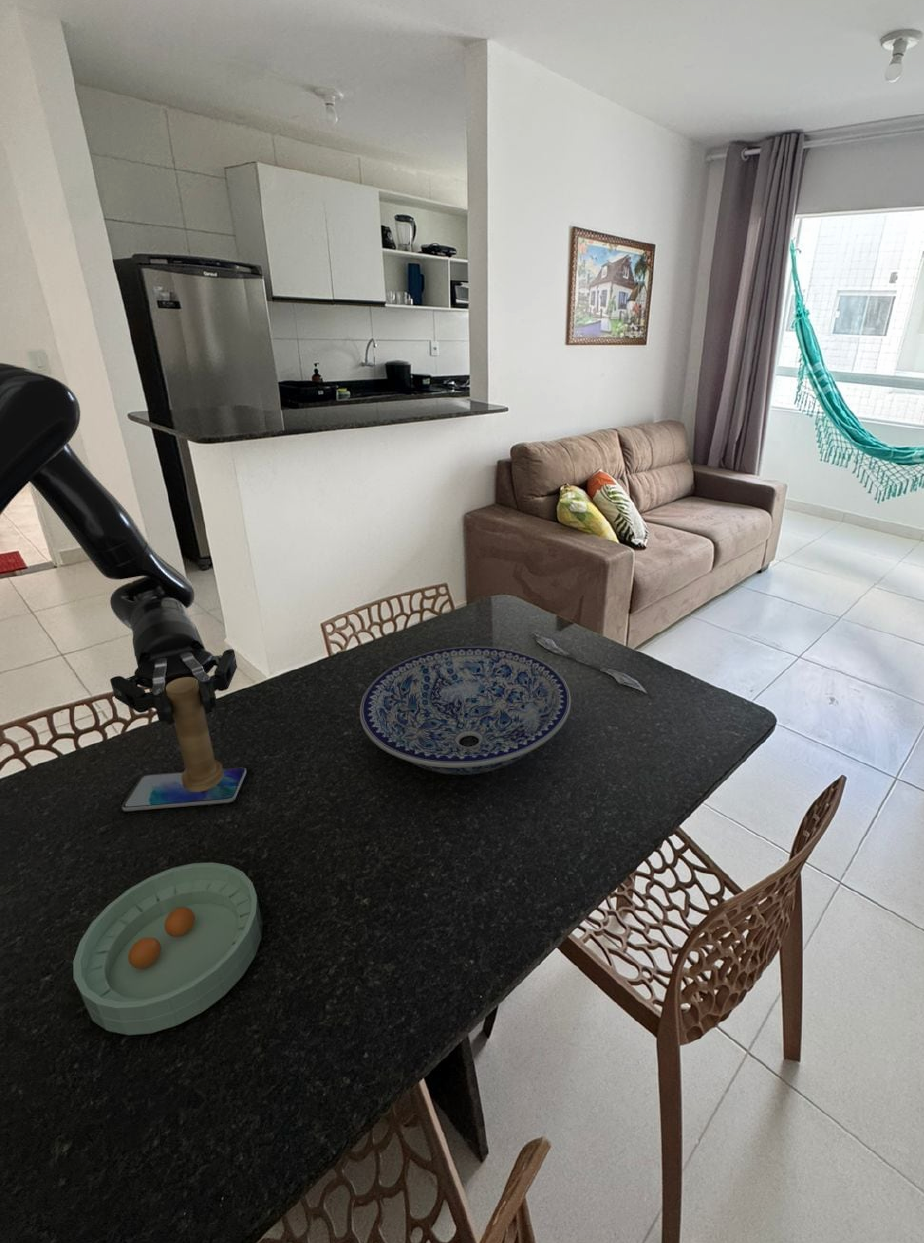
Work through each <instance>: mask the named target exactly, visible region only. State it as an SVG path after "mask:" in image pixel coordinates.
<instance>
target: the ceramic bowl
mask: <svg viewBox="0 0 924 1243" xmlns="http://www.w3.org/2000/svg"><path fill="white" fill-rule="evenodd" d="M571 703H572V700H571V692H570V689H569V686H568V685H567V682H566V681H565V679H564V677H562V675H561V674H560V673H559V672H558V671H556V669H554V668H553V667H552V666H550V665H549V664H547V663H546V662H544V661H542V660H540V659H538V658H536V657H534V656H531V655H530V654H526V653H523V652H519V651H516V650H511V649H505V648H501V647H491V646H460V647H459V646H458V647H450V648H444V649H437V650H434V651H433V650H432V651H430V652H426V653H422V654H419V655H416V656H413V657H411V658H408V659H406V660H403V661H401V662H400V663H397V664H395V665H394V666H392V667H390V668H389V669H386V670H385V671H384V672H383V673H382V674H380V675H379V676H378V677H377V678H375V679H374V681H373V682H371V684H370V685H369V686H368V688H367V689H366V690H365V692H364V694H363V696H362V698H361V702H360V706H359V720H360V723H361V726H362V728H363V730H364V733H365V734H366V736H367V737H368V738H369V739H370V740H371V741H372V742H373V743H374V744H375V745H376V746H377V747H378V748H379V749H381V750H383V751H384V752H386V753H388V754H390V755H392V756H393V757H396V758H398V759H401V760H404V761H406V762H409V763H410V764H412V765H414V766H416V767H419V768H421V769H424V770H427V771H430V772H433V773H437V774H446V775H453V776H454V775H455V776H456V775H457V776H459V775H460V776H462V775H463V776H466V775H467V776H469V775H476V774H482V773H488V772H491V771H496V770H498V769H501V768H504V767H506V766H509V765H510V764H513V763H514V762H517V761H518V760H520V759H521V758H523V757H525V756H526V755H527V754H529V753H530V752H532V751H533V750H536V749H538V748H539V747H540V746H543V745H544V744H545V743H547V742H548V741H549V740H550V739H551V738H553V737H554V736H555V735H556V734H557V733H558V732H559V731H560V730H561V728H562V727H563V726H564V724H565V722H567V719H568V717H569V714H570V709H571V705H572V704H571ZM465 737H475V738H477V739H478V742H477V744H475V745H472V746H464V745H462V744H460V741H461V740H462V739H463V738H465Z"/></svg>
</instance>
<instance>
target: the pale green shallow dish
mask: <svg viewBox="0 0 924 1243" xmlns="http://www.w3.org/2000/svg"><path fill="white" fill-rule="evenodd" d="M180 907H187V908H189V909H191V910H192V911H193V913H194V915H195V921H194V924H193V926H192V928H191V929H190V930H189V931H188V932H187V933H185V934H184V935H181V936H171V935H169V934H168V933H167V932H166V930H165V920H166V918H167V916H168V915H169V914H170V913H171V912H172V911H173V910H175V909H177V908H180ZM262 932H263V919H262V914H261V909H260V903H259V899H258V894H257V891H256V889H255V886H254V882H253V881H251V879H250V878H249V876H247V875H246V873H245V872H244V871H242V870H240V869H238V868H236V867H234V866H232V865H229V864H223V863H219V862H193V863H188V864H184V865H180V866H175V867H171V868H169V869H166V870H164V871H161V872H159V873H157V874H154V875H151V876H150V877H147V878H146V879H143V880H142V881H141V882H139V883H137V884H135V885H133V886H132V887H130V888H128V889H127V890H125V891H124V892H123V893H122V894H121V895H119V896H118V897H117V898H115V899H114V900H112V902H110V903H109V904H108V905H107V906H106V907H105V908H104V909H103V910H102V911H101V912H100V913H99V914H98V915H97V916H96V918H95V919H94V920H93V921H92V922H91V923H90V925H89V926H88V927H87V929H86V931H85V933H84V934H83V936H82V937H81V939H80V941H79V942H78V946H77V949H76V951H75V955H74V958H73V961H72V965H73V966H72V970H73V981H74V983H75V986H76V988H77V990H78V993H79V996H80V997H81V1000H82V1002H83V1003H82V1004H83V1005H84V1007H85V1010H86V1011H87V1013H88V1015H89V1017H90V1019H91V1020H92V1022H93V1023H94V1024H96V1025H98V1026H99V1027H101V1028H102V1029H103V1030H105V1031H108V1032H111V1033H117V1034H120V1035H126V1036H134V1035H135V1036H136V1035H148V1034H153V1033H157V1032H160V1031H163V1030H166V1029H171V1028H173V1027H176V1026H179V1025H181V1024H183V1023H185V1022H186V1021H188V1020H190V1019H192V1018H194V1017H196V1016H198V1015H200V1014H202V1013H204V1012H205V1011H206V1010H207V1009H209V1008H210V1007H212V1006H213V1005H214V1004H216V1003H217V1002H218V1001H219V1000H221V999H222V998H223V997H225V996H226V994H228V993H229V991H230V990H231V989H232V988H233V987H234V986H235V985H236V984H237V983H238V982H239V981H240V979H241V978H243V976H244V974H245V973H246V972H247V970H248V969H249V967H250V965H251V964H252V962H253V960H254V959H255V957H256V956H257V952H258V949H259V947H260V944H261V941H262V936H263V935H262ZM146 937H153V938H155V939H157V940H158V941H159V943H160V945H161V952H160V955H159V957H158V958H157V960H156V961H155V962H154V963H153V964H152V965H150V966H148V967H146V968H142V969H138V968H134V967H133V966H131V965H130V963H129V960H128V954H129V951H130V949H131V947H132V946H133V945H134V944H135V943H136V942H137V941H139V940H140V939H142V938H146Z"/></svg>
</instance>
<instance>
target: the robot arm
mask: <svg viewBox="0 0 924 1243" xmlns="http://www.w3.org/2000/svg"><path fill="white" fill-rule="evenodd" d="M80 422H81V407H80V404H79V401H78V398H77V396H76V395H75V393H74V392H73V391H72V389H71V388H69V387H68V385H66V384H65V383H64V382H61V381H60V380H59V379H56V378H54V377H52V376H51V375H50V376H49V375H46V374H44V373H41V372H38V371H35V370H32V369H29V368H26V367H23V366H19V365H14V364H11V363H4V362H0V516H1V515H2V514H3V513H4V511H5V510H6V508H8V506H9V505H10V503H11V502H12V501H13V500H14V499H15V498H16V497H17V495H18V494H19V493H20V492H21V491H22V490H23V489H24V488H25V487H26V486H27V485H28V484H29V483H31V485H32V486H33V487H34V488H35V489H36V490H37V492H38V493H39V494H40V495H41V497H43V499H44V500H45V502H46V503H47V504H48V505H49V507H50V508H51V509H52V510H53V512H54V513H55V514H56V515H57V517H58V519H60V521H61V522H62V523H63V525H64V526H65V528H67V530H68V531H69V532H70V535H72V537H73V538H74V539H75V541H76V542H77V543H78V545H79V546H80V548H81V549H82V551H84V553H85V554H86V555H87V557H88V558H89V560H90V561H91V562H92V564H93V565H94V566H95V568H96V569H97V570H98V571H99V572H100V573H101V574H102V576H104V577H105V578H107V579H108V580H109V579H110V580H116V581H118V580H119V581H120V580H126V579H127V580H128V579H132V578H137V579H134V580H133V581H130V582H129V581H128V582H127V583H124V584H122V585H121V586H119V587H117V588H116V589H115V590H114V591H113V592H112V594H111V596H110V600H109V603H110V604H109V605H110V608H111V611H112V612H113V614H114V615H115V616H116V618H117V619H118V620H119V621H120V622H121V623H122V624H123V625H124V626H125V627H127V628H128V629H130V630H131V632H132V648H133V653H134V657H135V660H136V665H137V668H136V669H135V670H134V672H133V675H131V676H129V677H127V678H125V677H124V676H122V675H116V676H113V677H111V678H109V681H110V685H111V689H112V692H113V695H114V698H115V699H116V700H118V701H119V702H121V703H123V704H124V705H125V706H127V707H129V708H131V709H132V710H134V711H135V712H137V713H139V714H142V713H143V714H144V713H146V712H148V711H149V710H150V709H154V710H155V711H156V715H157V719H158V721H159V722H161V723H163V722H164V723H165V722H166V723H167V725H172V724H174V723H175V722H174V718H173V713H172V709H171V706H170V702H169V698H168V696H167V693H166V686H167V684H169V683H170V682H171V681H173V680H176V679H179V678H183V677H193V678H195V679H197V681H198V685H199V691H200V695H201V700H202V704H203V708H204V712H205V715H206V714H207V715H208V714H211V713H213V708H216V707H217V706H218V700H217V695H216V691H219V692H224V691H226V690H228V689H229V688H230V684H231V682H232V680H233V678H234V676H235V673H236V671H237V668H238V664H237V659H236V658H237V657H236V652H235V650H234V649H233V648H229V649H226V650H224V651H223V652H222V654H220V655H214V654H213V653H212V652H211V651H208V650H206V647H205V645H204V643H203V640H202V638H201V636H200V633H199V630H198V628H197V626H196V625H195V623H194V621H193V620H192V618H191V616H190V614H189V611H188V610H187V609H189V608H190V607H191V606H192V605H193V603H194V601H195V595H196V594H195V592H196V591H195V588H194V587H193V586H194V585H193V584H192V583H191V581H190V580H189V579H188V577H186V576H185V575H184V574H183V573H182V572H181V571H179V570H178V569H177V568H176V567H174V566H173V565H172V564H170V563H169V562H168V561H167V560H166V559H164V558H163V557H162V556H161V555H159V554H158V553H157V552H156V550H155V549H154V548H153V547H152V546H151V545H150V543H149V542H148V540H147V539H146V537H145V536H144V534H143V532H142V531H141V529H140V528H139V527H138V524H136V522H135V521H134V519H133V518H132V516H131V515H130V514H129V513H128V511H127V510H126V509H125V508H124V506H123V505H122V504H121V503H120V502H119V501H118V499H117V498H116V497H115V496H114V495H113V494H112V493H111V492H110V491H109V490H108V489H107V488H106V486H104V485H103V484H102V483H101V482H100V480H98V479H97V478H96V477H95V475H94V474H93V473H92V472H91V471H90V470H89V469H88V467H87V466H86V465H85V464H84V463H83V461H82V460H81V459H80V458H79V456H78V455H77V453H76V452H75V451H74V450H73V448H72V446H71V445H70V444H69V442H70V441H71V440H72V439H73V437H74V436H75V435H76V433H77V431H78V428H79V427H80V426H79V425H80ZM138 577H139V578H138ZM214 667H215V669H214V671H213V674H212V675H209V673H210V672H211V670H212V669H213V668H214ZM142 687H143V688H142ZM144 688H147V689H151V691H147V692H146V689H144Z"/></svg>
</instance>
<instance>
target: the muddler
mask: <svg viewBox="0 0 924 1243" xmlns="http://www.w3.org/2000/svg"><path fill="white" fill-rule="evenodd" d="M166 693H167V696H168V698H169V702H170V706H171V709H172V713H173V718H174V722H175V723H173V724H174V728H175V733H176V737H177V742H178V745H179V750H180V753H181V758H182V762H183V767H184V770H183V771H182V772H183V773H182V776H181V779H182V783H183V787H184V788H185V789H186V790H187V791H190V792H201V791H205V790H208V789H210V788H212V787H214V786H216V785H217V784H218V783H219V782H220V781H221V780H222V778H223V775H224V773H223V769H224V768H223V765H222V763H221V762H219V761H218V760H216V759H215V755H214V754H215V753H214V750H213V745H212V741H211V736H210V731H209V726H208V721H207V716H206V713H205V710H204V707H203V704H202V700H201V695H200V691H199V685H198V681H197V679H195V678H193V677H183V678H179V679H176V680H173V681H171V682H170V683H169V684H167V686H166Z"/></svg>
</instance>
